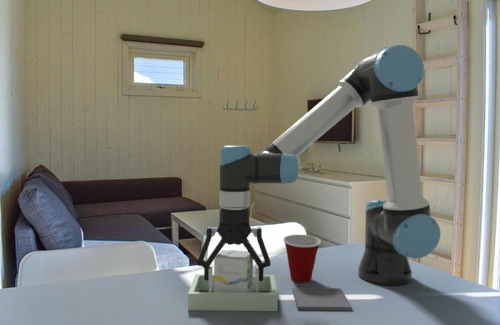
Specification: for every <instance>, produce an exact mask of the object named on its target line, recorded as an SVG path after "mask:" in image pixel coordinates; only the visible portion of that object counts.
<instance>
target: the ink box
mask: <svg viewBox="0 0 500 325" xmlns="http://www.w3.org/2000/svg"><path fill="white" fill-rule="evenodd" d="M213 264H214V266H213V274H214V290H213V292H251V293H254V291H253V275H254V259H253V258H252V256H251V255H250V253H249V252H248V250H237V249H236V250H235V249H229V250H225V249H221V250H220V252H219V253H218V254H217V256H216V257H215V258H214V260H213Z"/></svg>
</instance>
